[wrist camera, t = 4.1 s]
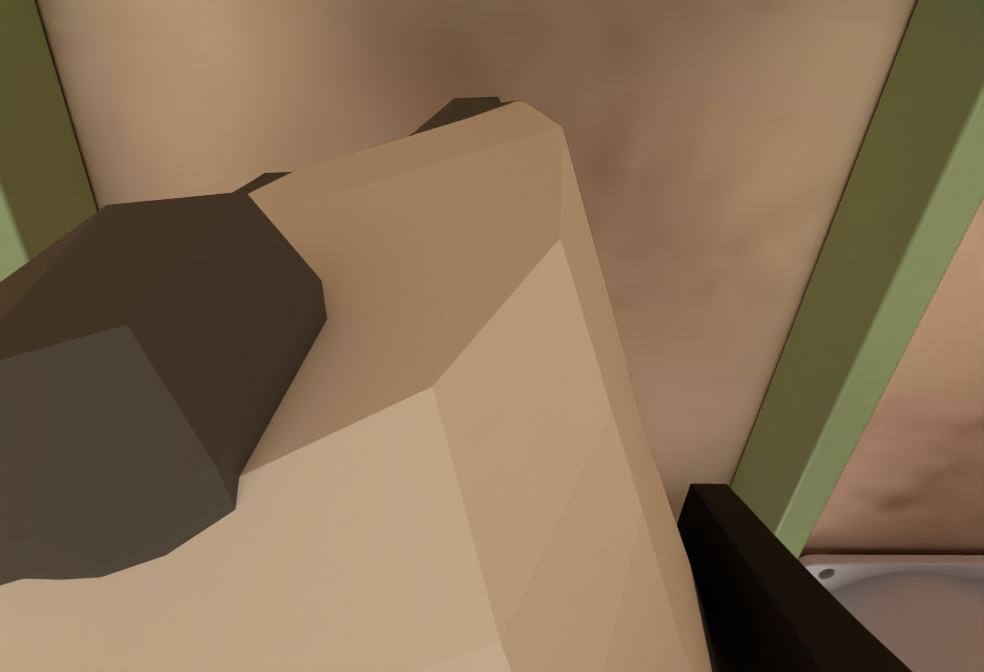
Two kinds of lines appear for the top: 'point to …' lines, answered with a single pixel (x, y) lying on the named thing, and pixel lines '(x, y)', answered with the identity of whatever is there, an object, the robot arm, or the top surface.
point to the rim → (828, 299)
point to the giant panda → (337, 428)
